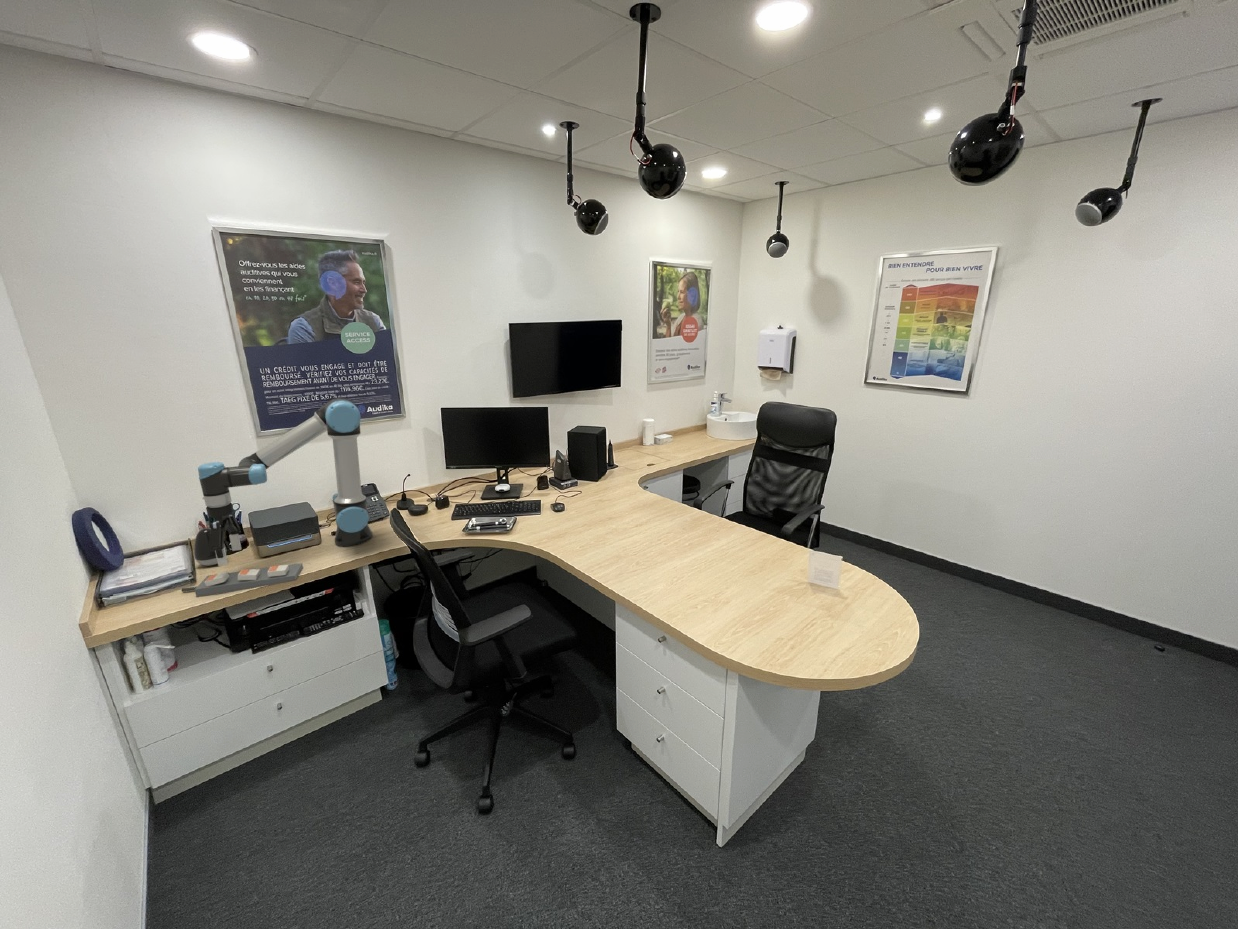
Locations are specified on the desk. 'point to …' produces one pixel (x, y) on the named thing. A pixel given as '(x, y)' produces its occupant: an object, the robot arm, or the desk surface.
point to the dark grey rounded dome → (205, 548)
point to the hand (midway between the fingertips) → (230, 557)
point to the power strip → (245, 582)
